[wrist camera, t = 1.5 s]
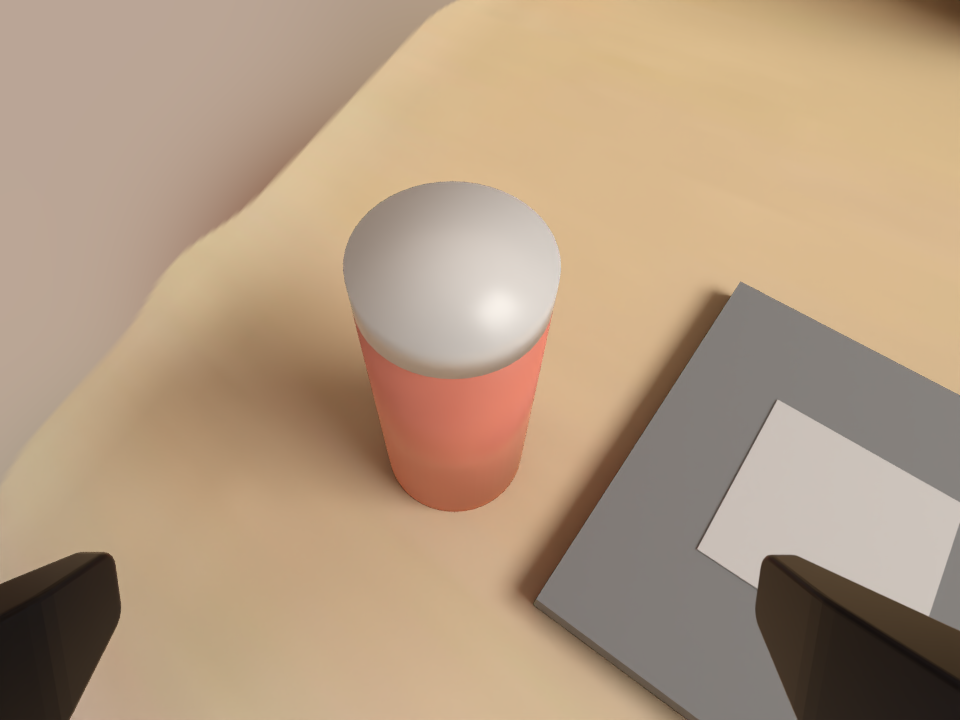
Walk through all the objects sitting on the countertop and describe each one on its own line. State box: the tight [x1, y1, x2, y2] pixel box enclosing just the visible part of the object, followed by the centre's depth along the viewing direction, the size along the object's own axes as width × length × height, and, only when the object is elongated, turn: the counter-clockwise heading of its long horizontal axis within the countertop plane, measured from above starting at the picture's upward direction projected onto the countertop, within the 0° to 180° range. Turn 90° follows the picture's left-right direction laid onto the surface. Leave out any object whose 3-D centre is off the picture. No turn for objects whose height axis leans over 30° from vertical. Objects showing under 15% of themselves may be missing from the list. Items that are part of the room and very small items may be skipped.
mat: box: [533, 282, 960, 720], centre depth 22 cm, size 16×14×1 cm
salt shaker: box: [343, 181, 561, 512], centre depth 19 cm, size 5×5×11 cm
